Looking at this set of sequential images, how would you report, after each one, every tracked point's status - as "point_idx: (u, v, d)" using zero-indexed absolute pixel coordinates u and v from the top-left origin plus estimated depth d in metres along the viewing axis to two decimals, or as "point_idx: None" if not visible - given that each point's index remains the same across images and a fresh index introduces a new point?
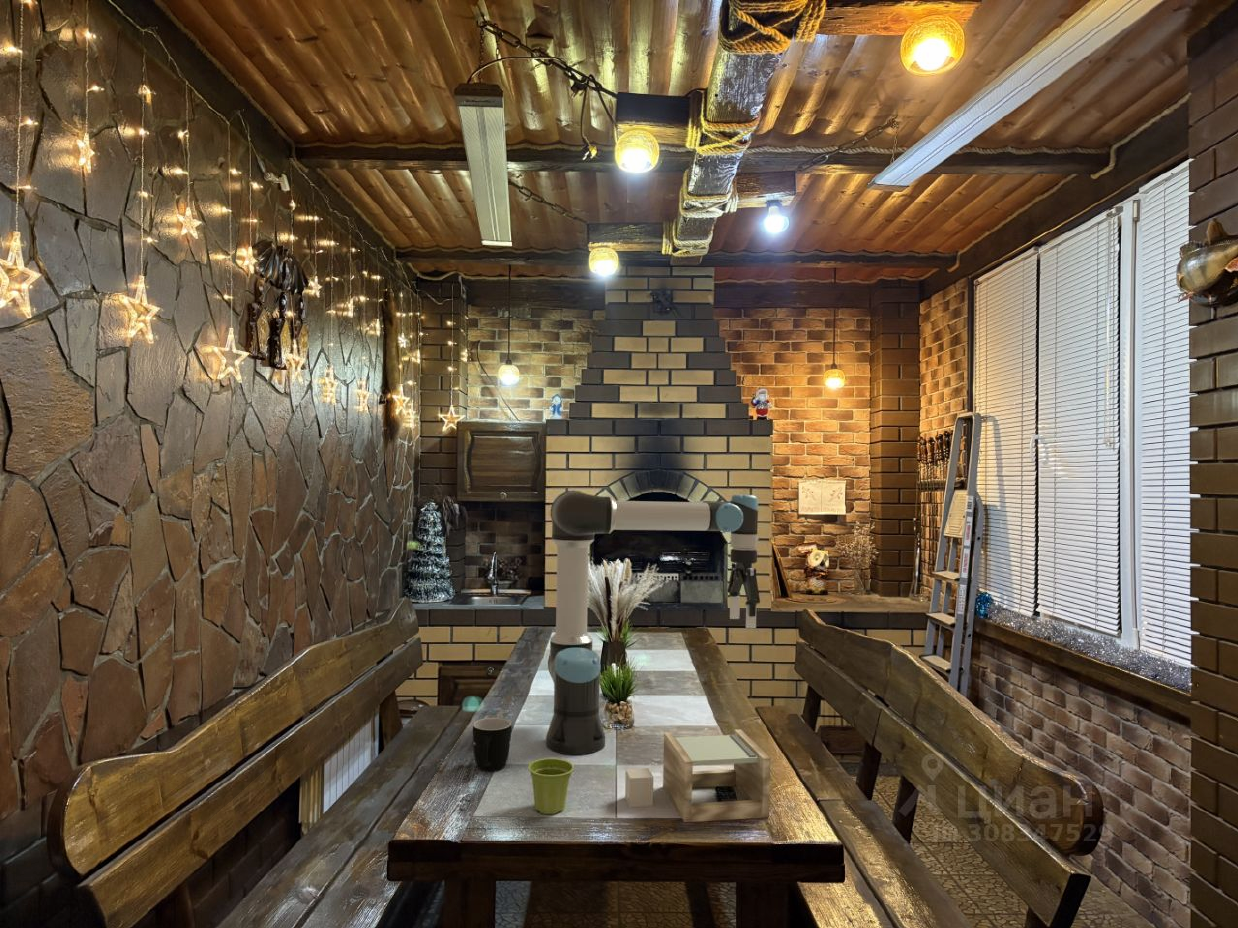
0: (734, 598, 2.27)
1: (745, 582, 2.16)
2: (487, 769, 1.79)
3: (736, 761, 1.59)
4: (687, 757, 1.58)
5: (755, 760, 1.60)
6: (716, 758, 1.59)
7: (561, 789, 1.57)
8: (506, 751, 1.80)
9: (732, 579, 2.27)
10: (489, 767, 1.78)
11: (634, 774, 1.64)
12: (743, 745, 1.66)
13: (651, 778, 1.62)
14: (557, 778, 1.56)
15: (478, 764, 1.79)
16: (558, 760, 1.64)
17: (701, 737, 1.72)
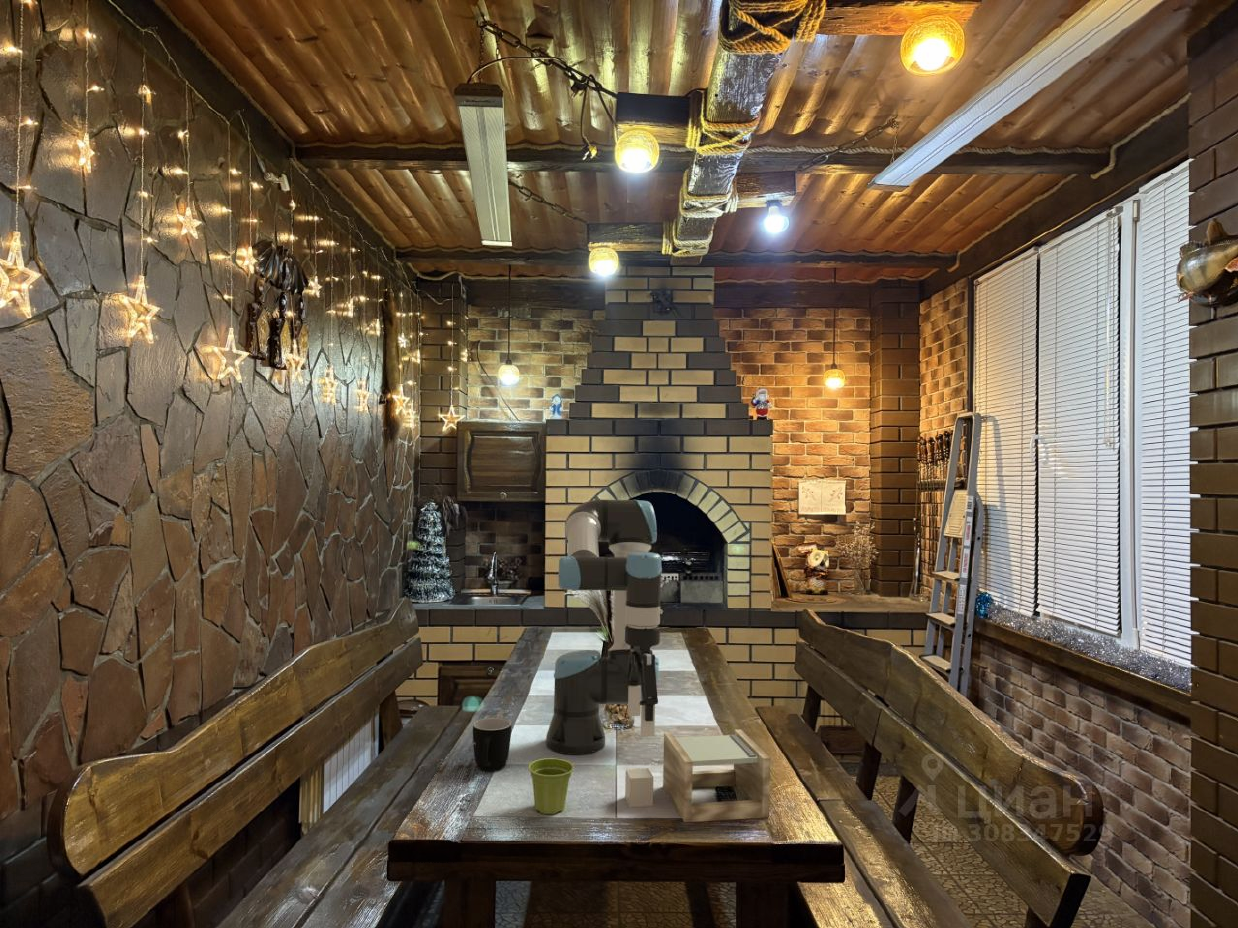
0: (633, 688, 1.71)
1: (641, 672, 1.60)
2: (487, 769, 1.79)
3: (736, 761, 1.59)
4: (687, 757, 1.58)
5: (755, 760, 1.60)
6: (716, 758, 1.59)
7: (561, 789, 1.57)
8: (506, 751, 1.80)
9: (631, 663, 1.72)
10: (489, 767, 1.78)
11: (634, 774, 1.64)
12: (743, 745, 1.66)
13: (651, 778, 1.62)
14: (557, 778, 1.56)
15: (478, 764, 1.79)
16: (558, 760, 1.64)
17: (701, 737, 1.72)
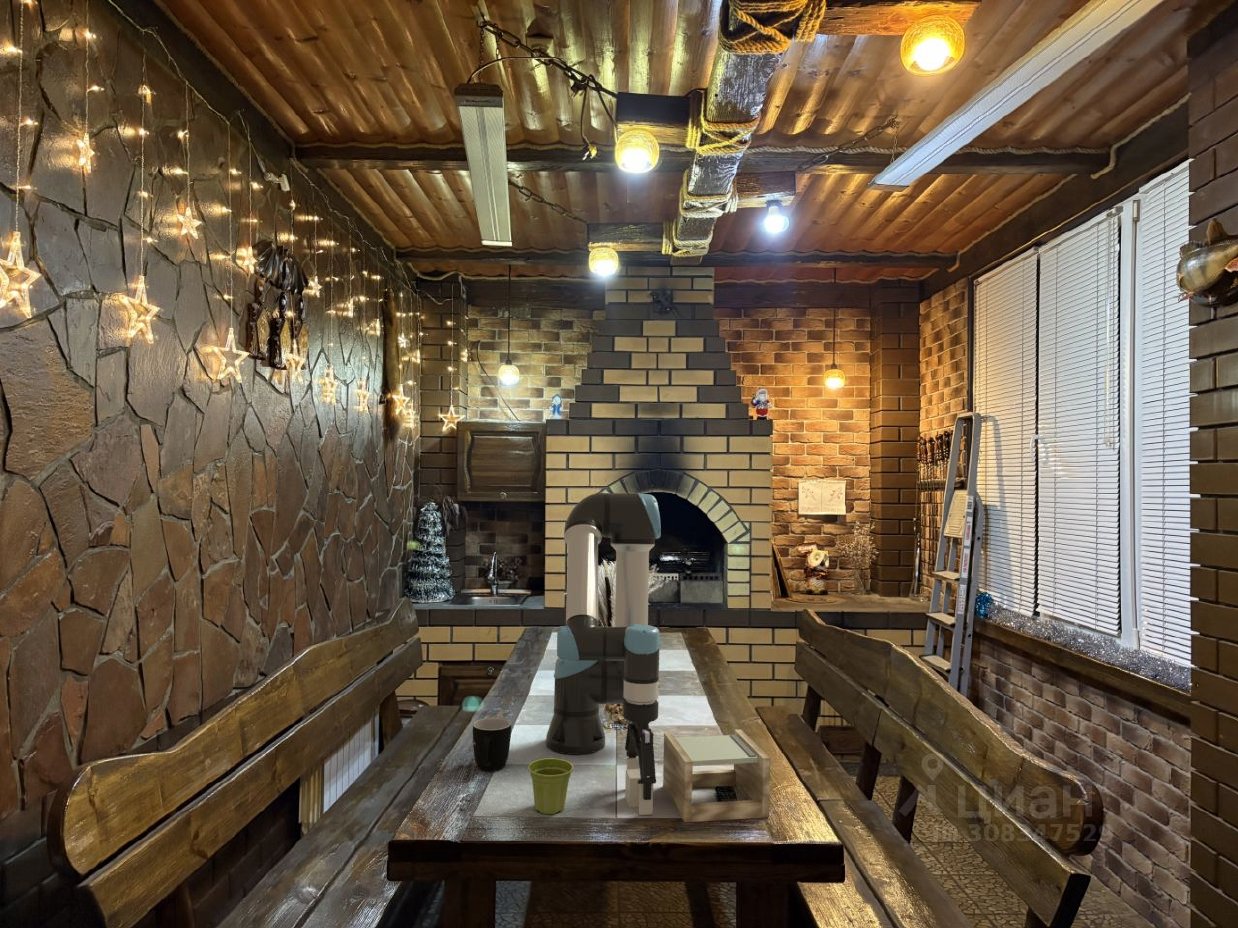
0: (632, 761, 1.71)
1: (640, 749, 1.60)
2: (487, 769, 1.79)
3: (736, 761, 1.59)
4: (687, 757, 1.58)
5: (755, 760, 1.60)
6: (716, 758, 1.59)
7: (561, 789, 1.57)
8: (506, 751, 1.80)
9: None
10: (489, 767, 1.78)
11: (634, 774, 1.64)
12: (743, 745, 1.66)
13: None
14: (557, 778, 1.56)
15: (478, 764, 1.79)
16: (558, 760, 1.64)
17: (701, 737, 1.72)
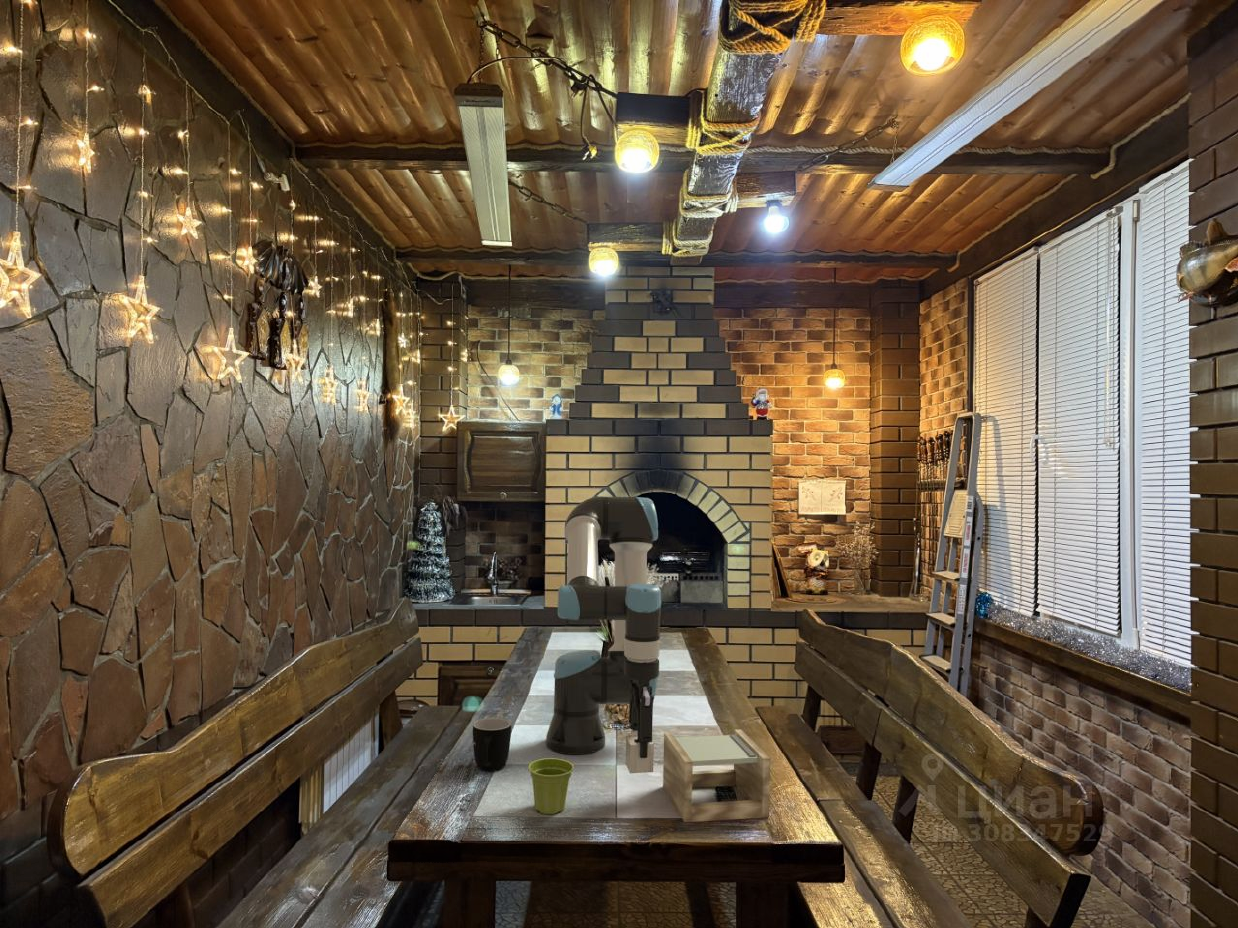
0: (636, 733, 1.68)
1: (639, 709, 1.62)
2: (487, 769, 1.79)
3: (736, 761, 1.59)
4: (687, 757, 1.58)
5: (755, 760, 1.60)
6: (716, 758, 1.59)
7: (561, 789, 1.57)
8: (506, 751, 1.80)
9: (632, 701, 1.70)
10: (489, 767, 1.78)
11: None
12: (743, 745, 1.66)
13: (651, 745, 1.63)
14: (557, 778, 1.56)
15: (478, 764, 1.79)
16: (558, 760, 1.64)
17: (701, 737, 1.72)
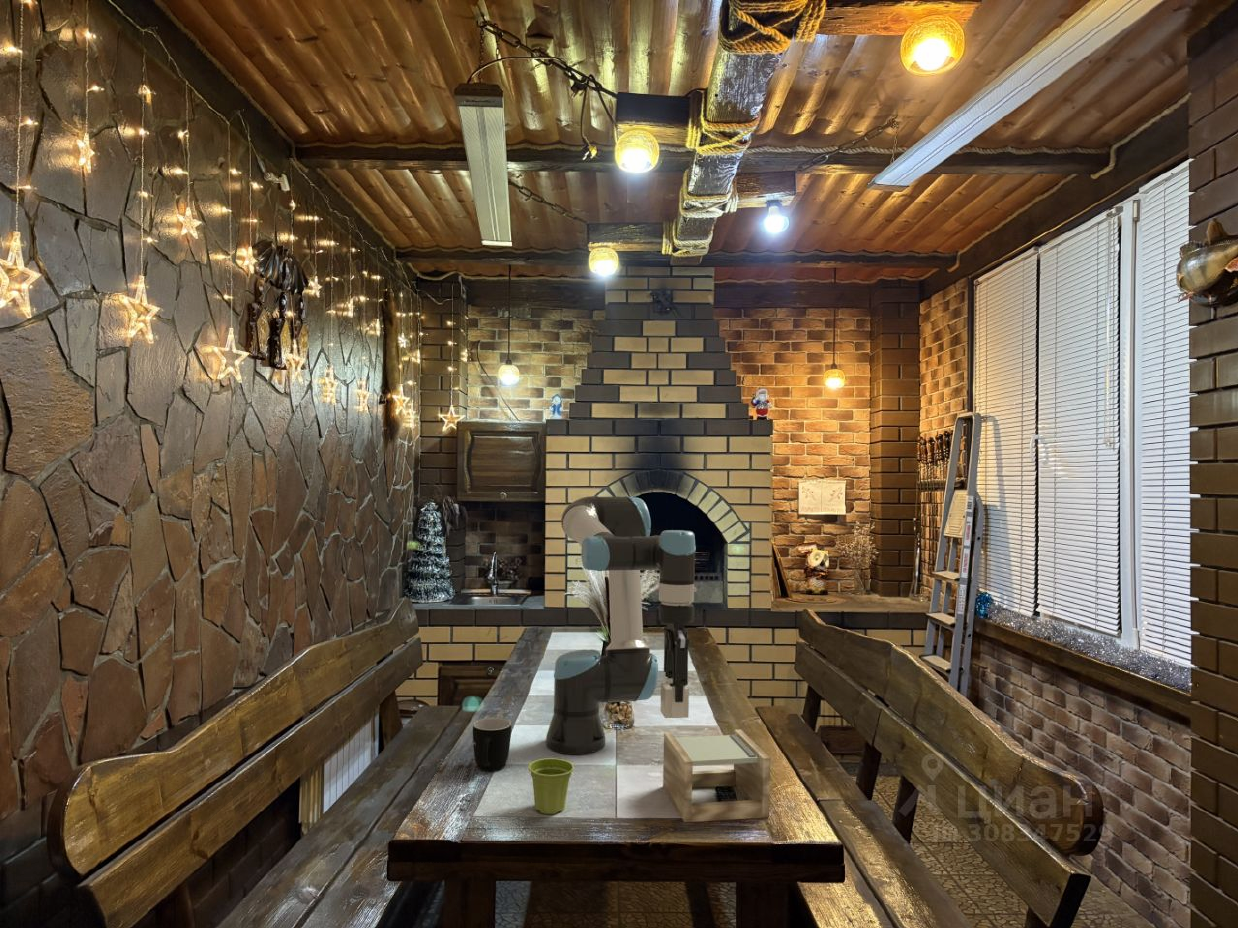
0: (671, 681, 1.67)
1: (674, 653, 1.62)
2: (487, 769, 1.79)
3: (736, 761, 1.59)
4: (687, 757, 1.58)
5: (755, 760, 1.60)
6: (716, 758, 1.59)
7: (561, 789, 1.57)
8: (506, 751, 1.80)
9: (667, 650, 1.70)
10: (489, 767, 1.78)
11: (669, 686, 1.64)
12: (743, 745, 1.66)
13: (686, 690, 1.62)
14: (557, 778, 1.56)
15: (478, 764, 1.79)
16: (558, 760, 1.64)
17: (701, 737, 1.72)
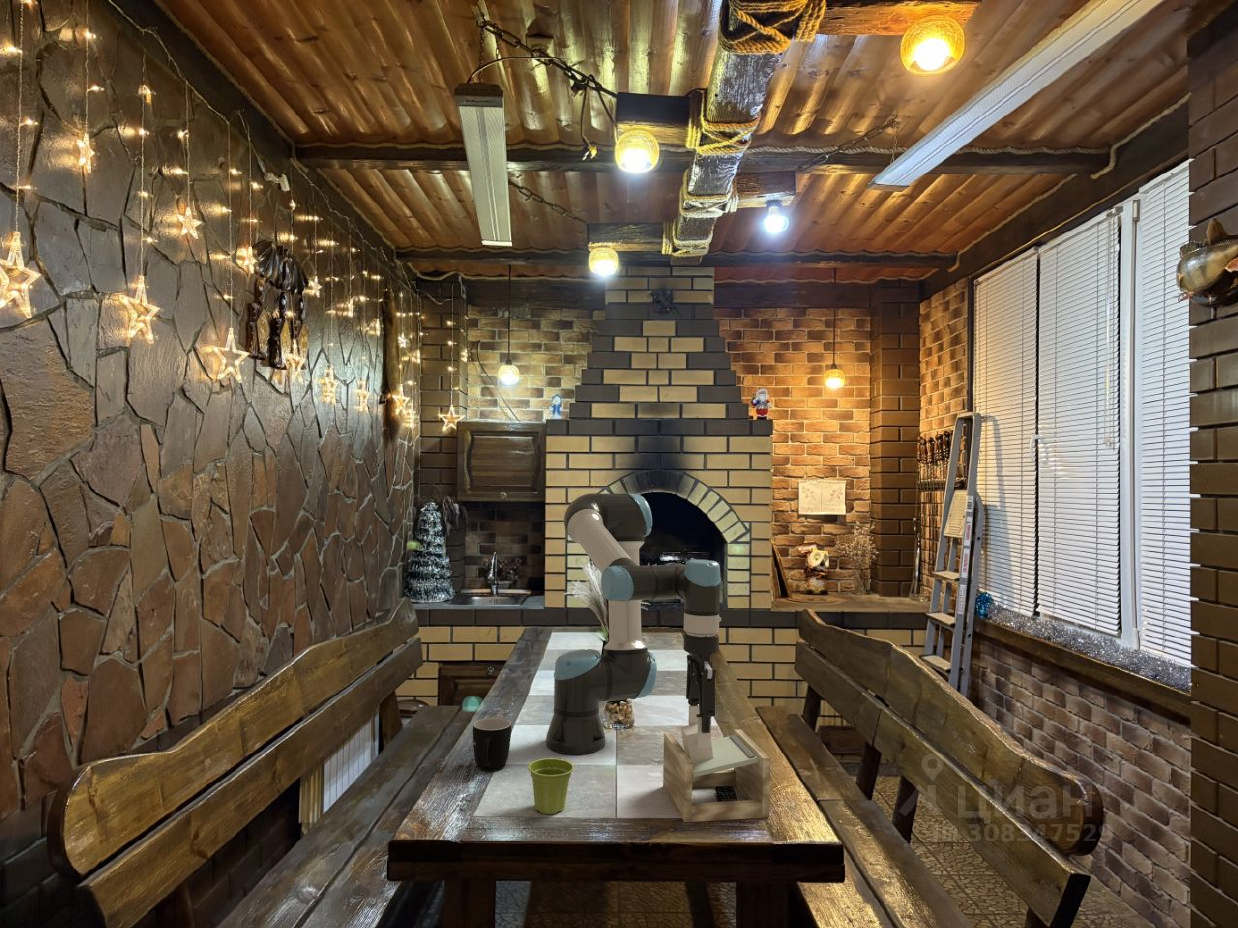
0: (694, 708, 1.68)
1: (700, 683, 1.62)
2: (487, 769, 1.79)
3: (736, 765, 1.59)
4: (687, 757, 1.58)
5: (755, 760, 1.60)
6: (716, 765, 1.59)
7: (561, 789, 1.57)
8: (506, 751, 1.80)
9: (690, 677, 1.70)
10: (489, 767, 1.78)
11: (690, 731, 1.64)
12: (742, 746, 1.66)
13: None
14: (557, 778, 1.56)
15: (478, 764, 1.79)
16: (558, 760, 1.64)
17: None
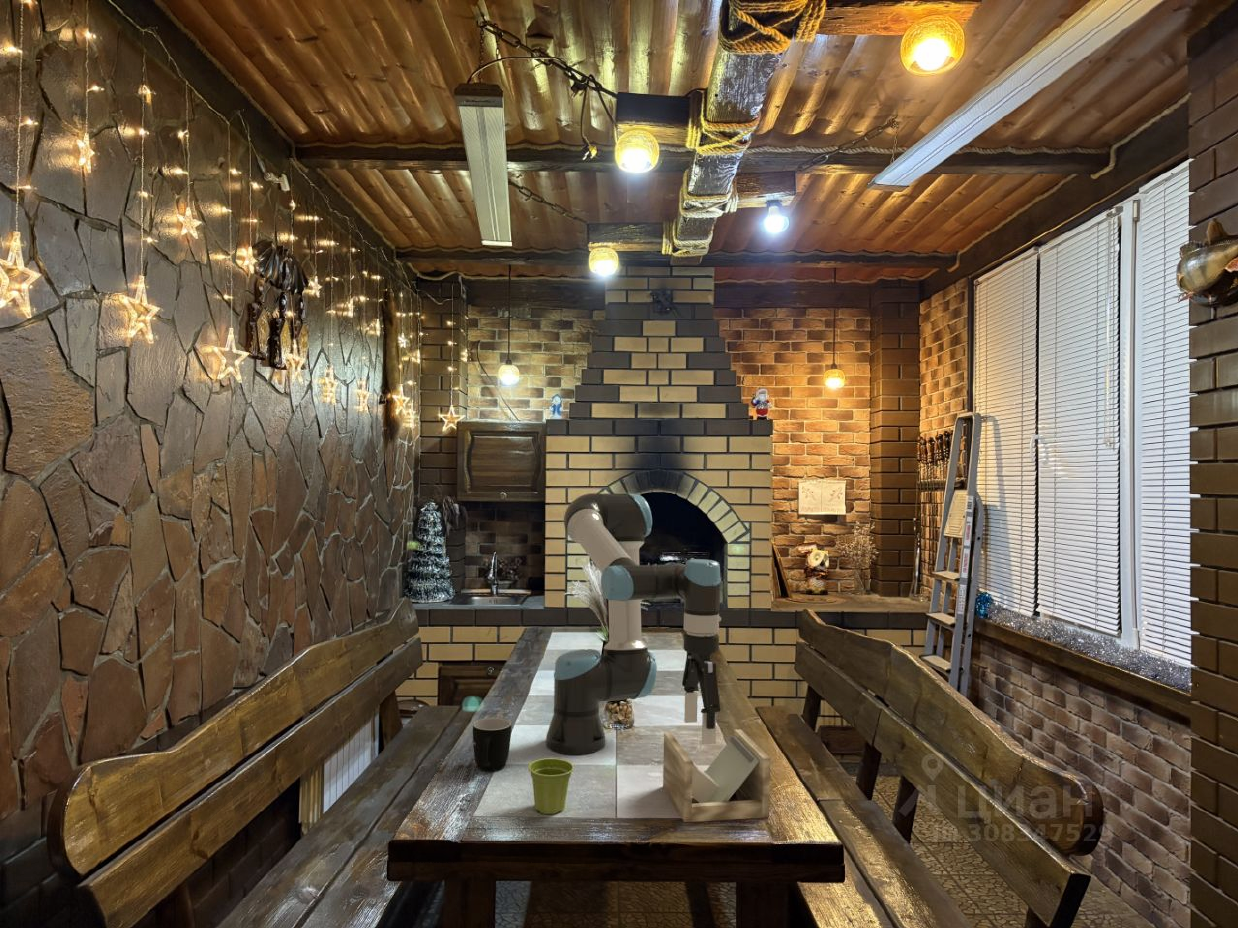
0: (690, 695, 1.71)
1: (702, 680, 1.61)
2: (487, 769, 1.79)
3: (744, 777, 1.59)
4: (687, 757, 1.58)
5: (756, 761, 1.60)
6: (728, 790, 1.59)
7: (561, 789, 1.57)
8: (506, 751, 1.80)
9: (687, 670, 1.72)
10: (489, 767, 1.78)
11: None
12: (742, 749, 1.66)
13: (698, 772, 1.62)
14: (557, 778, 1.56)
15: (478, 764, 1.79)
16: (558, 760, 1.64)
17: (711, 765, 1.72)
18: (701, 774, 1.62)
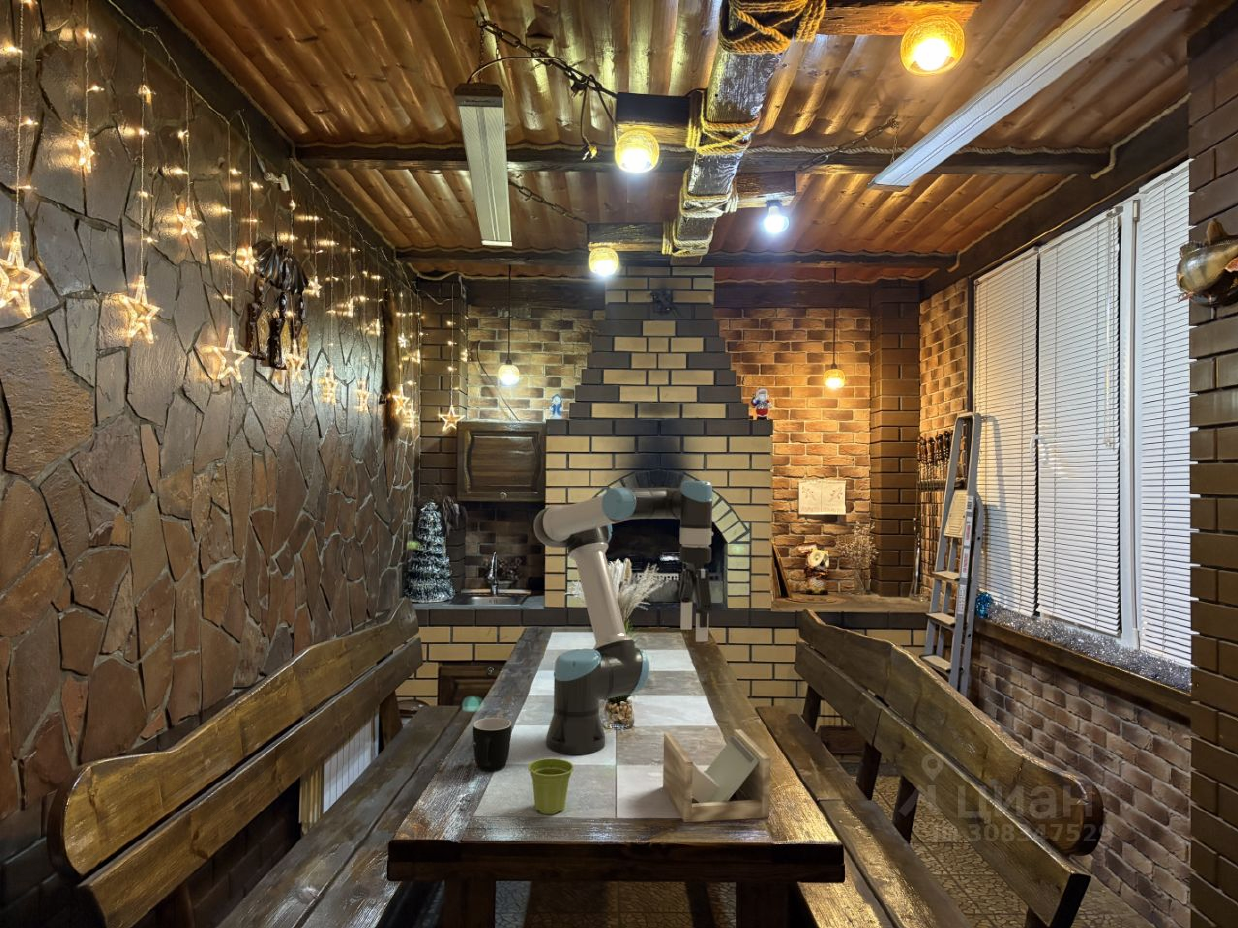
0: (685, 605, 1.90)
1: (696, 586, 1.79)
2: (487, 769, 1.79)
3: (744, 777, 1.59)
4: (687, 757, 1.58)
5: (756, 761, 1.60)
6: (728, 790, 1.59)
7: (561, 789, 1.57)
8: (506, 751, 1.80)
9: (683, 582, 1.90)
10: (489, 767, 1.78)
11: None
12: (742, 749, 1.66)
13: (698, 772, 1.62)
14: (557, 778, 1.56)
15: (478, 764, 1.79)
16: (558, 760, 1.64)
17: (711, 765, 1.72)
18: (701, 774, 1.62)
